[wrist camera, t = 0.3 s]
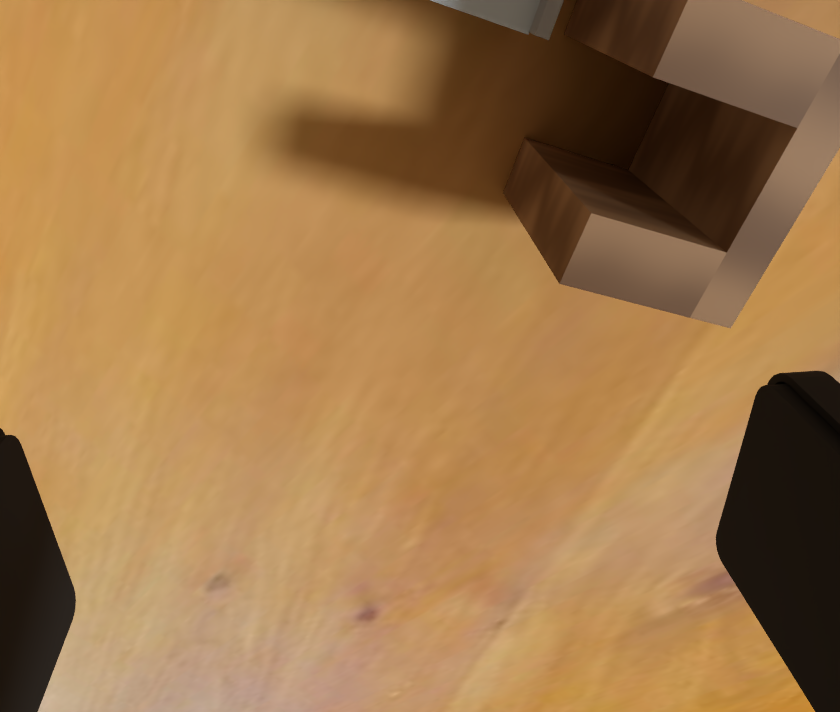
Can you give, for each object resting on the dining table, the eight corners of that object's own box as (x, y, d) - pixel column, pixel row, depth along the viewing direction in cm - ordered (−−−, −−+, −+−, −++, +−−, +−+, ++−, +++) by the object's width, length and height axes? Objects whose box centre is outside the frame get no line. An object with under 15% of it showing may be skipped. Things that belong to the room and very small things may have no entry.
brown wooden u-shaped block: (590, -35, 32) (695, -18, 23) (739, 22, 34) (892, 59, 24) (503, 193, 37) (559, 283, 28) (636, 231, 39) (730, 328, 30)
